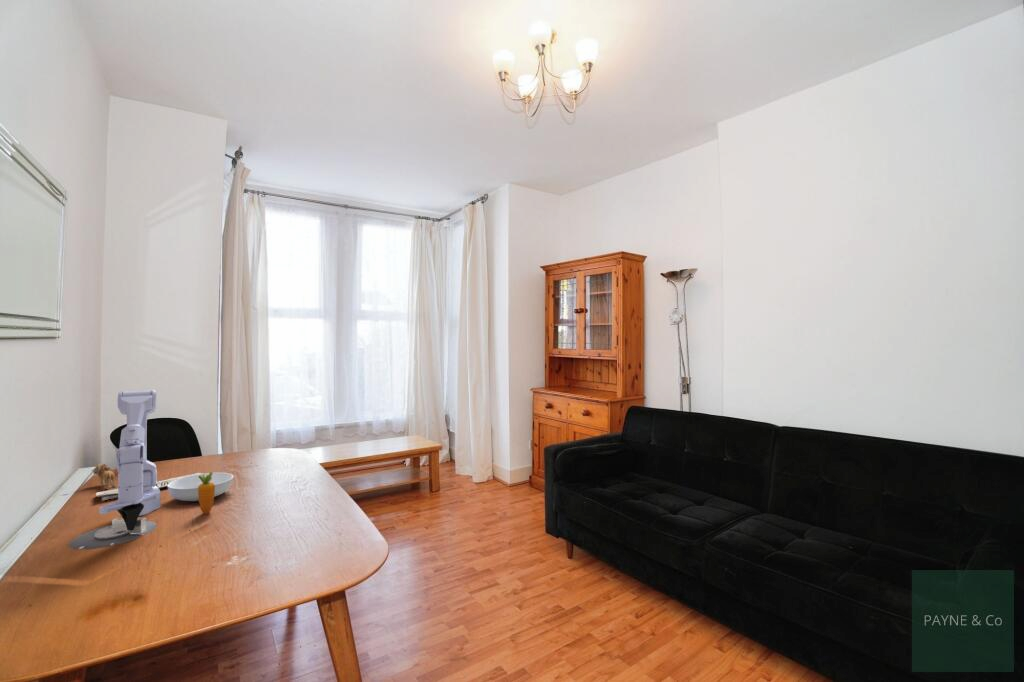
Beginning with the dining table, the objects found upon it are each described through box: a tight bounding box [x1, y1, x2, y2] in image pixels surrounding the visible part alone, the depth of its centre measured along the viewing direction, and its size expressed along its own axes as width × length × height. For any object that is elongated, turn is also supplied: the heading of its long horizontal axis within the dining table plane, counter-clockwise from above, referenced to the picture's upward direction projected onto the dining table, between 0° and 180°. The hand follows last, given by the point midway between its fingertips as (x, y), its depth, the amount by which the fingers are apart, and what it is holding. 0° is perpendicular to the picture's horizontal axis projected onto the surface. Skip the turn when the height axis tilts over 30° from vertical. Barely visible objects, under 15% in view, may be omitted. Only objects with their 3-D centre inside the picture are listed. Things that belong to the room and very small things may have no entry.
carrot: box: [198, 471, 215, 515], centre depth 150 cm, size 5×5×15 cm
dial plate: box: [68, 520, 157, 551], centre depth 134 cm, size 20×20×1 cm
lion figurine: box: [91, 463, 117, 490], centre depth 183 cm, size 15×5×9 cm, turn 65°
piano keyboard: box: [95, 472, 203, 502], centre depth 180 cm, size 35×12×4 cm, turn 142°
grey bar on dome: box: [95, 517, 147, 541], centre depth 134 cm, size 14×9×5 cm, turn 89°
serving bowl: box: [167, 472, 234, 502], centre depth 169 cm, size 21×21×7 cm
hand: (130, 529), depth 132 cm, fingers closed
